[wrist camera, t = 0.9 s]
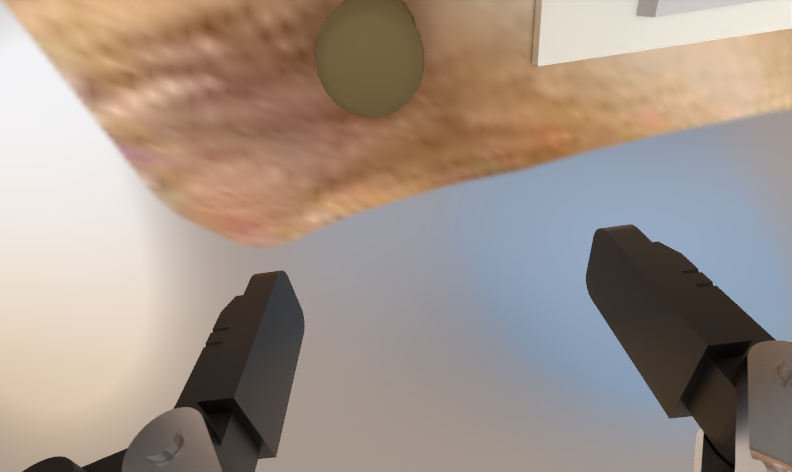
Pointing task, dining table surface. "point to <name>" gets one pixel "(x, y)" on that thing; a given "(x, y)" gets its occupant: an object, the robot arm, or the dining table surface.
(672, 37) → the board
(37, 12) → the dining table surface
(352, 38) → the olive tall rounded piece
